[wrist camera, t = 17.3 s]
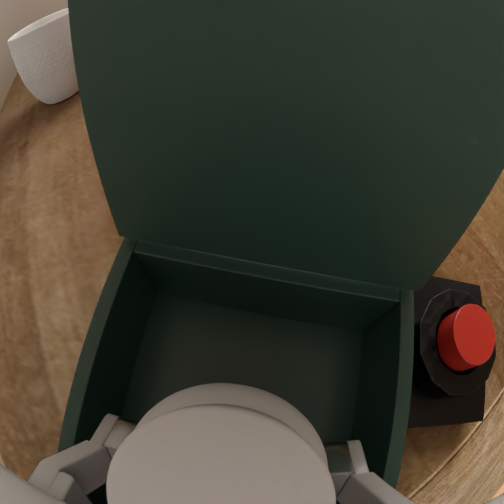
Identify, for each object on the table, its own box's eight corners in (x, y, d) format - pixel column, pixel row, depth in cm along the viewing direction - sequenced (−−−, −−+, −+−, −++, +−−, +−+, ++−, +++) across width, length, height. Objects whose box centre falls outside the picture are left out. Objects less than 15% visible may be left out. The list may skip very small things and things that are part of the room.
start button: (478, 371, 13) (496, 365, 11) (435, 371, 13) (454, 364, 12) (476, 316, 15) (492, 306, 13) (435, 311, 15) (451, 299, 13)
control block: (464, 422, 14) (501, 417, 11) (370, 427, 15) (401, 428, 11) (464, 297, 19) (494, 274, 16) (380, 282, 20) (406, 254, 16)
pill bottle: (158, 420, 14) (32, 421, 4) (253, 374, 16) (275, 312, 6) (211, 507, 12) (169, 624, 2) (308, 460, 13) (412, 524, 3)
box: (322, 568, 10) (350, 609, 4) (94, 521, 10) (49, 546, 5) (370, 324, 18) (413, 289, 13) (152, 282, 19) (124, 235, 14)
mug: (124, 61, 37) (111, -8, 26) (117, 90, 32) (99, 4, 21) (43, 88, 35) (23, 26, 23) (24, 123, 30) (-6, 51, 18)
